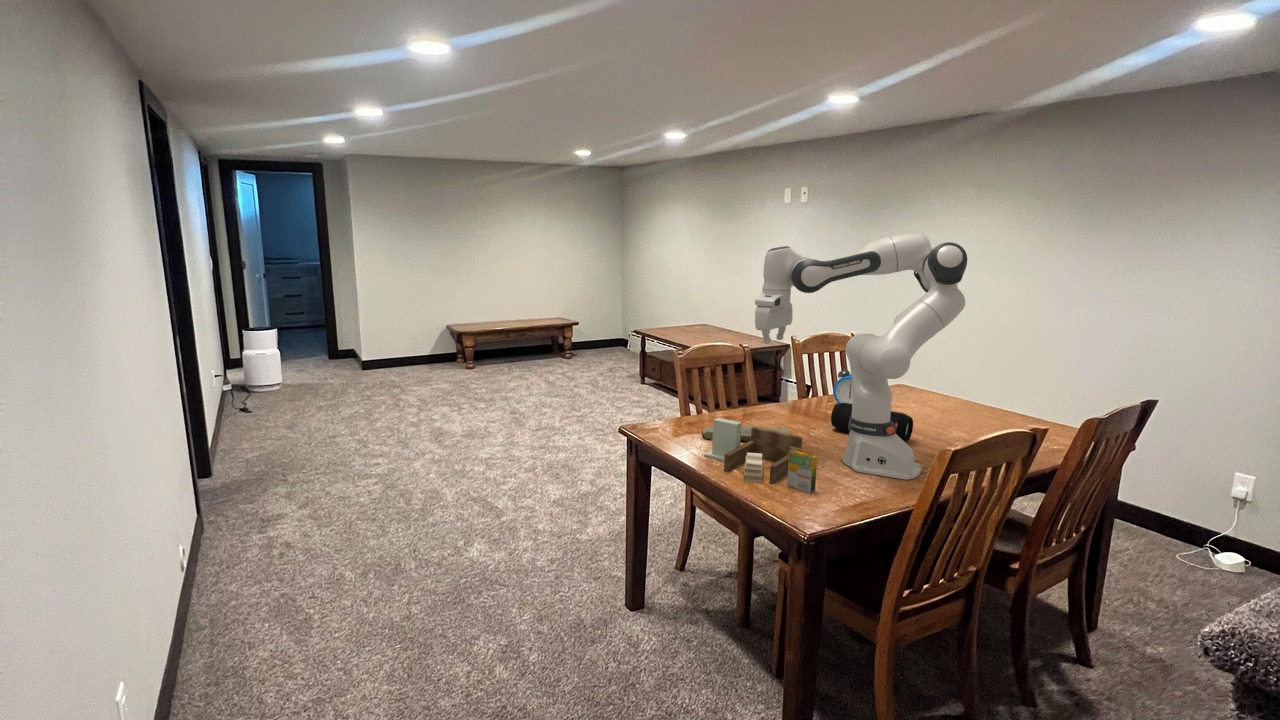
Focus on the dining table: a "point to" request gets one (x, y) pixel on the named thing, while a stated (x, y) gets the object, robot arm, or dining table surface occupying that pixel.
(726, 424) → the pale green block
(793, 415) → the dining table surface
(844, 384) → the alarm clock
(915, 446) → the dining table surface
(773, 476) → the walnut corral
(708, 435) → the stone slab
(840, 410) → the portable speaker
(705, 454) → the grey plate
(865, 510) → the dining table surface
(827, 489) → the dining table surface
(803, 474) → the crayon box
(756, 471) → the offcut stack
